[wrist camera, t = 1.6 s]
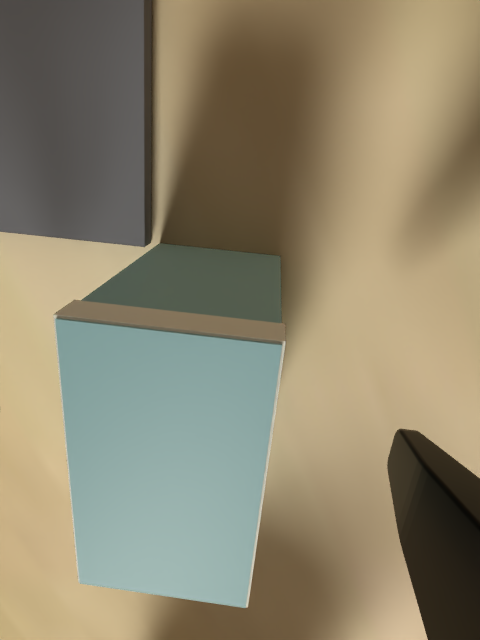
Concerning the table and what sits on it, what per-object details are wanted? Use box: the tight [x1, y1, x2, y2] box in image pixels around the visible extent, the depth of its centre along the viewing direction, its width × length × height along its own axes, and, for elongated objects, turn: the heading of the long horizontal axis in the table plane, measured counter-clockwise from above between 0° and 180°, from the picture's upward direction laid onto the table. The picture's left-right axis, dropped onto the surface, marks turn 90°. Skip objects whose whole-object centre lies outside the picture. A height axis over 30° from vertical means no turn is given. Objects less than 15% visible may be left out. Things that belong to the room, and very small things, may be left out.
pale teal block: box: [53, 243, 286, 608], centre depth 10 cm, size 4×6×6 cm, turn 175°
